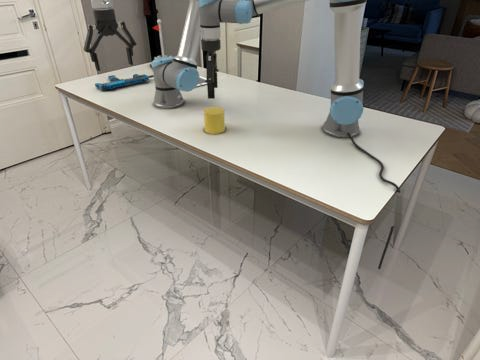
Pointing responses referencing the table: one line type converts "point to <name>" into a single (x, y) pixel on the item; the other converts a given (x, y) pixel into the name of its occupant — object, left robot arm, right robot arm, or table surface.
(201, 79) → the tablet
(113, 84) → the submachine gun
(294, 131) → the table surface
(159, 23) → the flag stand
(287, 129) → the table surface
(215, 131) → the tin
